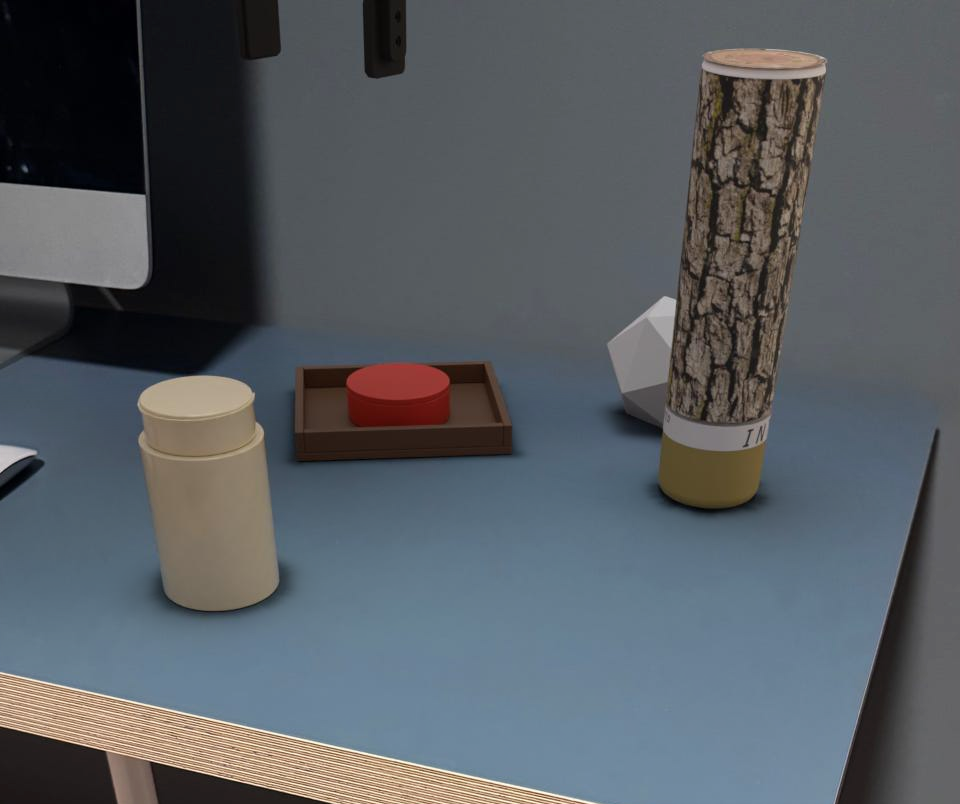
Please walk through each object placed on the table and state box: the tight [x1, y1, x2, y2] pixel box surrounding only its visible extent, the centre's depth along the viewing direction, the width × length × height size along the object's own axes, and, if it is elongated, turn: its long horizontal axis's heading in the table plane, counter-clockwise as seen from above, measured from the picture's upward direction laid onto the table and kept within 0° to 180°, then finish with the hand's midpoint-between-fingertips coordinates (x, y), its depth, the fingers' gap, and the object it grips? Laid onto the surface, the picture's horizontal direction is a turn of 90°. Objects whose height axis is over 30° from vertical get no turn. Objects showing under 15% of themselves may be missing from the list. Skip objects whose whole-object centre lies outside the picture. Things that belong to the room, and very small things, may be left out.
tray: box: [294, 360, 513, 462], centre depth 93 cm, size 15×13×2 cm
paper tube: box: [657, 48, 828, 510], centre depth 77 cm, size 7×7×25 cm
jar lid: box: [346, 362, 450, 427], centre depth 92 cm, size 8×8×2 cm
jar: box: [136, 375, 281, 612], centre depth 71 cm, size 7×7×11 cm
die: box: [606, 295, 677, 429], centre depth 92 cm, size 8×9×10 cm
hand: (321, 66), depth 76 cm, fingers open, 9 cm apart
